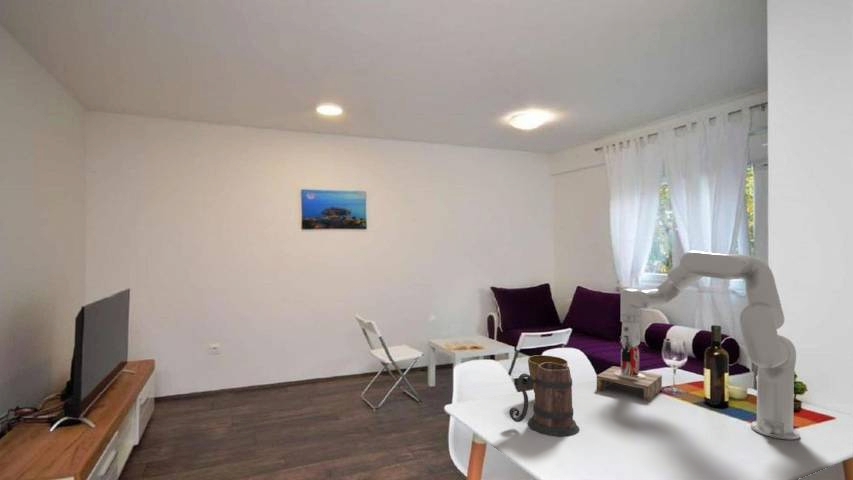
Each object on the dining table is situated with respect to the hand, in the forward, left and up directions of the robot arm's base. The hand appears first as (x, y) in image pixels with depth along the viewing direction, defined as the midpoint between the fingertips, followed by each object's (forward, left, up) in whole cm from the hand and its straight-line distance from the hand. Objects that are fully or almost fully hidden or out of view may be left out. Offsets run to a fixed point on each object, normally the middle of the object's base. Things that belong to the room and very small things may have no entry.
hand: (630, 359), depth 189 cm
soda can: (0, 0, -7) cm, 7 cm away
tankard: (-60, +9, -13) cm, 62 cm away
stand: (0, 0, -13) cm, 13 cm away
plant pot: (-37, +19, -13) cm, 44 cm away
